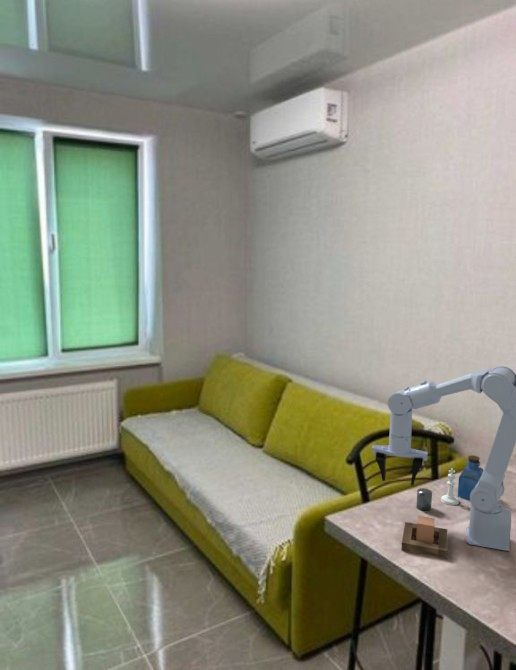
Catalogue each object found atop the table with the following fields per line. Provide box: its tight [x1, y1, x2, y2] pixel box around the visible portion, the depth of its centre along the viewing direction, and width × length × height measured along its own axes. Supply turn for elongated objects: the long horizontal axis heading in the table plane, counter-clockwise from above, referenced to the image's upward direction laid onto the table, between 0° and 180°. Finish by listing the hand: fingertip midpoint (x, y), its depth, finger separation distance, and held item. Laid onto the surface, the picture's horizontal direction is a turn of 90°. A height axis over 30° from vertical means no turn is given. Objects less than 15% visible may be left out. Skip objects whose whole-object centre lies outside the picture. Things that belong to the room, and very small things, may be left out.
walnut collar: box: [400, 521, 448, 559], centre depth 129 cm, size 10×10×2 cm
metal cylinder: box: [415, 487, 433, 512], centre depth 147 cm, size 4×4×5 cm
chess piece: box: [440, 467, 460, 506], centre depth 151 cm, size 5×5×10 cm
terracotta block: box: [415, 515, 435, 544], centre depth 129 cm, size 4×4×6 cm
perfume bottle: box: [457, 455, 484, 501], centre depth 154 cm, size 6×6×12 cm
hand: (398, 481), depth 143 cm, fingers open, 7 cm apart
